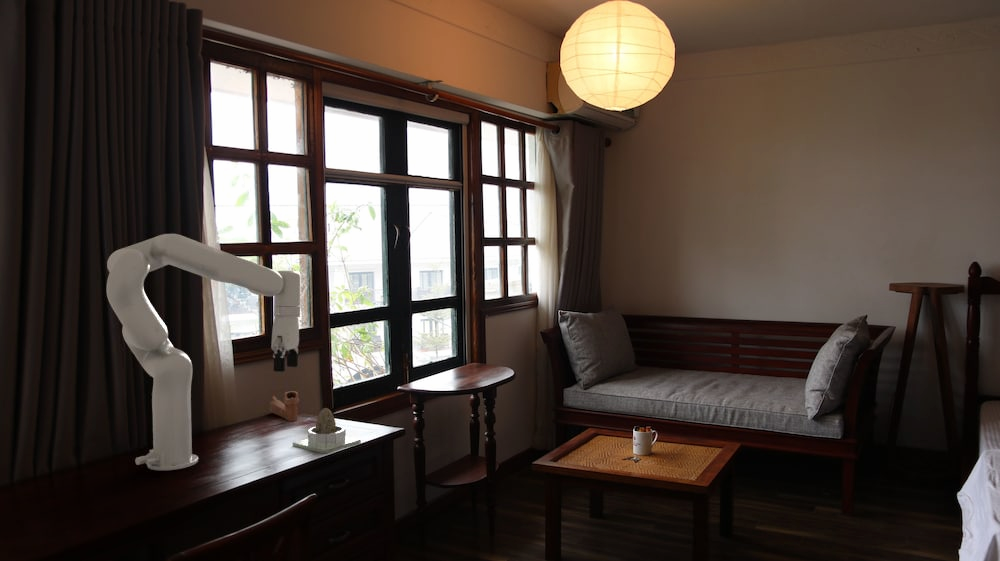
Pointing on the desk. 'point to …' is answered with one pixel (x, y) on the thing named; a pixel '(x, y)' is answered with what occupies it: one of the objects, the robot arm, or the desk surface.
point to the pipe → (286, 406)
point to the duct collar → (326, 440)
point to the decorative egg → (325, 422)
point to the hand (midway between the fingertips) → (285, 368)
